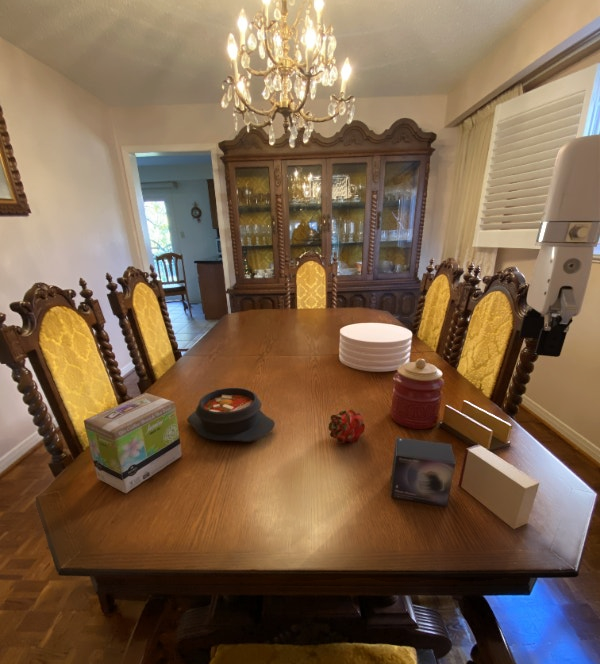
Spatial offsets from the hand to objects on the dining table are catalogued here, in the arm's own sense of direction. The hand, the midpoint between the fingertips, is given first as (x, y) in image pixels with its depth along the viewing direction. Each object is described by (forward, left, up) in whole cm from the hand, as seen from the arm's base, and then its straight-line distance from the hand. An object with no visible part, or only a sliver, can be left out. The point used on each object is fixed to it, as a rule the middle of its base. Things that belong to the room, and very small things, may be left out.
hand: (537, 345), depth 57 cm
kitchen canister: (-4, -31, -31) cm, 44 cm away
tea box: (+66, -38, -31) cm, 82 cm away
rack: (-12, -18, -31) cm, 38 cm away
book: (+4, +1, -31) cm, 31 cm away
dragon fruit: (+18, -30, -31) cm, 47 cm away
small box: (+15, -7, -31) cm, 35 cm away
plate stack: (-21, -76, -31) cm, 85 cm away
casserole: (+44, -47, -31) cm, 71 cm away
